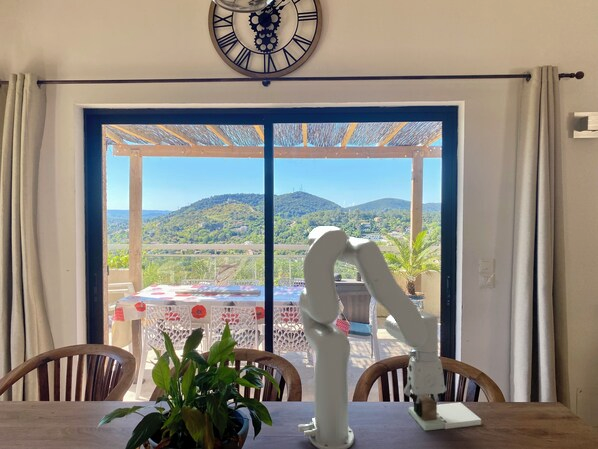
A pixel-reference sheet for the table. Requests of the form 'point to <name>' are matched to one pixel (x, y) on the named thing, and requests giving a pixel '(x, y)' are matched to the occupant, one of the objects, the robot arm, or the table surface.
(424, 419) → the stub
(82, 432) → the table surface
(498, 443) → the table surface
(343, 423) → the robot arm
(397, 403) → the table surface
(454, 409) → the white flat slab
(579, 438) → the table surface
